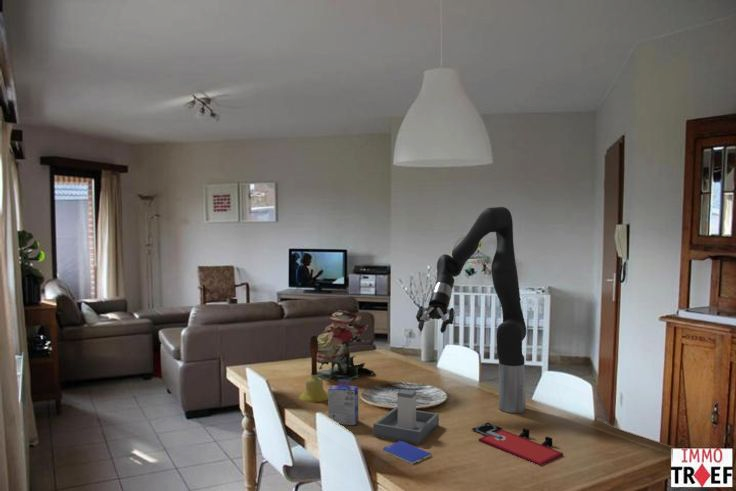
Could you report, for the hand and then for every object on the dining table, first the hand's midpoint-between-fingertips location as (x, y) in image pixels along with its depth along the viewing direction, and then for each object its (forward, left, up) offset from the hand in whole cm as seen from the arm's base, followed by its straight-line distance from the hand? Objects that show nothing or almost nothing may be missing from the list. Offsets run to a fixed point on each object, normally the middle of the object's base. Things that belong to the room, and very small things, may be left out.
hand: (431, 330), depth 201 cm
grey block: (-1, +27, -28) cm, 38 cm away
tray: (-1, +27, -29) cm, 39 cm away
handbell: (+46, +10, -29) cm, 55 cm away
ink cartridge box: (+22, +29, -29) cm, 46 cm away
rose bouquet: (+53, -23, -29) cm, 65 cm away
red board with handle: (-35, +22, -29) cm, 50 cm away
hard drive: (-8, +43, -29) cm, 53 cm away
